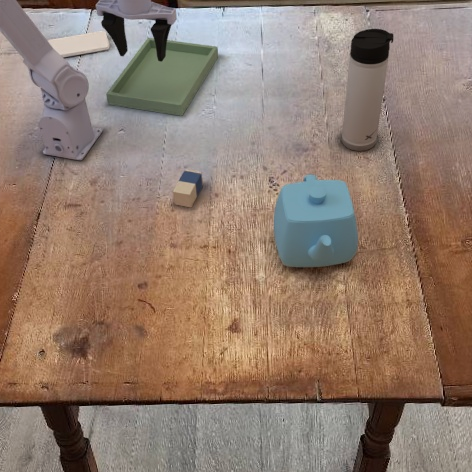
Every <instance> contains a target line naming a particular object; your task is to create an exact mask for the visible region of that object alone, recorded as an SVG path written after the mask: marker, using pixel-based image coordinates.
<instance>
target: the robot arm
mask: <svg viewBox="0 0 472 472" xmlns="http://www.w3.org/2000/svg"><path fill="white" fill-rule="evenodd" d="M95 11H96V15H97V17H102V20H101V21H100V24H101V27H102V28H103V29H104V31H106V34H107V35H109V36H110V38H111V40H112V42H113V43H114V45H115V47H116V50H117V51H118V54H119V56H120V57H124V56H125V55H126V54H127V53H128V49H129V48H128V41H127V36H126V27H125V19H126V20H131V21H135V20H149V21H155V22H154V23H153V24H152V26H151V27H150V32H151V34H152V38H154V41H155V45H156V51H157V58H158V61H161V62H162V61H163V59H164V58H165V56H166V45H167V40H169V35H170V31H171V28H172V25H174V24H175V23H176V22H177V19H178V17H177V9H176V8H175V7H168V6H166V5H162V4H160V3H156V2H154V1H152V0H98V2H97V3H96V4H95ZM0 34H2V35H3V36H4V37H5V39H6V40H7V41H8V42H9V44H11V46H12V47H13V49H15V50H16V52H17V53H18V54H19V55H20V57H21V58H22V63H23V64H24V66H26V68H27V70H28V73H29V77H30V80H31V81H32V83H33V84H34V85H35V86H37V87H38V88H40V91H41V97H42V102H43V112H42V115H41V117H40V118H39V121H38V128H39V132H40V135H41V138H42V141H43V144H44V149H43V150H42V154H43V155H46V156H47V155H48V156H53V157H59V158H64V159H70V160H76V161H82V160H83V159H84V158H85V157H86V155H87V154H88V152H89V151H90V150H91V148H92V147H93V146H94V144H95V143H96V142H97V140H98V138H99V137H100V136H101V134H102V133H103V131H104V130H103V128H102V127H96V126H93V124H92V121H91V116H90V112H89V108H88V104H87V100H86V98H87V96H88V94H89V88H90V87H89V86H90V84H89V79H88V77H87V76H86V74H85V73H83V72H82V71H81V70H78V69H76V68H74V67H73V66H72V65H71V64H70V63H69V62H68V61H67V60H66V59H65V57H62V56H61V55H60V54H59V53H58V52H57V51H56V50H55V49H54V48H53V47H52V46H51V45H50V43H49V42H48V41H47V40H48V39H47V38H46V37H45V36H44V35H43V33H42V32H41V31H40V29H39V28H38V26H37V25H36V23H34V22H33V20H32V19H31V18H30V16H29V15H28V14H27V13H26V11H25V10H24V9H23V8H22V6H21V4H20V3H19V2H18V1H17V0H0Z"/></svg>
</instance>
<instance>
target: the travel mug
mask: <svg viewBox="0 0 472 472" xmlns="http://www.w3.org/2000/svg"><path fill="white" fill-rule="evenodd" d="M390 43H391V44H393V43H394V33H393V32H389V31H387V30H385V29H382V28H368V29H363V30H361V31H358V32H357V33H355V34H354V35H353V37H352V38H351V42H350V51H349V57H348V58H349V60H348V70H347V79H346V89H345V99H344V110H343V120H342V129H341V130H342V131H341V143H342V145H343V146H344V147H345V148H347V149H349V150H352V151H357V152H362V151H363V152H364V151H368V150H370V149H372V148H374V146H376V143H377V139H378V132H379V126H380V119H381V111H382V104H383V98H384V92H385V86H386V84H385V83H386V77H387V71H388V65H389V58H390V46H391V45H390Z"/></svg>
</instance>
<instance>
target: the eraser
mask: <svg viewBox="0 0 472 472" xmlns="http://www.w3.org/2000/svg"><path fill="white" fill-rule="evenodd" d="M203 181H204V180H203V172H202V171H198V170H192V169H184V170H183V172H182V173H181V176H180V177H179V179H178V182H177V183H176V184H175V187H174V189H173V190H172V196H173V202H174V205H175V206H176V205H177V206H180V207H186V208H192V207H193V205H194V203H195V201H196V199H197V198H198V196H199V194H200V192H201V190H202V188H203V186H204V183H203Z"/></svg>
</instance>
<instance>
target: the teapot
mask: <svg viewBox="0 0 472 472" xmlns="http://www.w3.org/2000/svg"><path fill="white" fill-rule="evenodd" d="M276 199H277V200H276V203H275V207H274V211H273V212H274V213H273V235H274V241H275V245H276V250H277V253H278V257H279V259H280V261H281V263H282V264H283V265H284V266H286V267H290V268H321V267H328V266H334V265H340V264H345V263H348V262H350V261H352V260H353V258H354V257H355V256H356V254H357V251H358V246H359V233H358V223H357V218H356V212H355V209H354V204H353V200H352V197H351V193H350V191H349V188H348V185H347V183H346V181H343V180H339V179H318V177H317V175H315V174H310V173H309V174H306V175H304V177H303V181H298V182H291V183H288V184H287V183H286V184H284V185H283V186H282V187H281V189H280V191H279V194H278V196H277V198H276Z"/></svg>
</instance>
